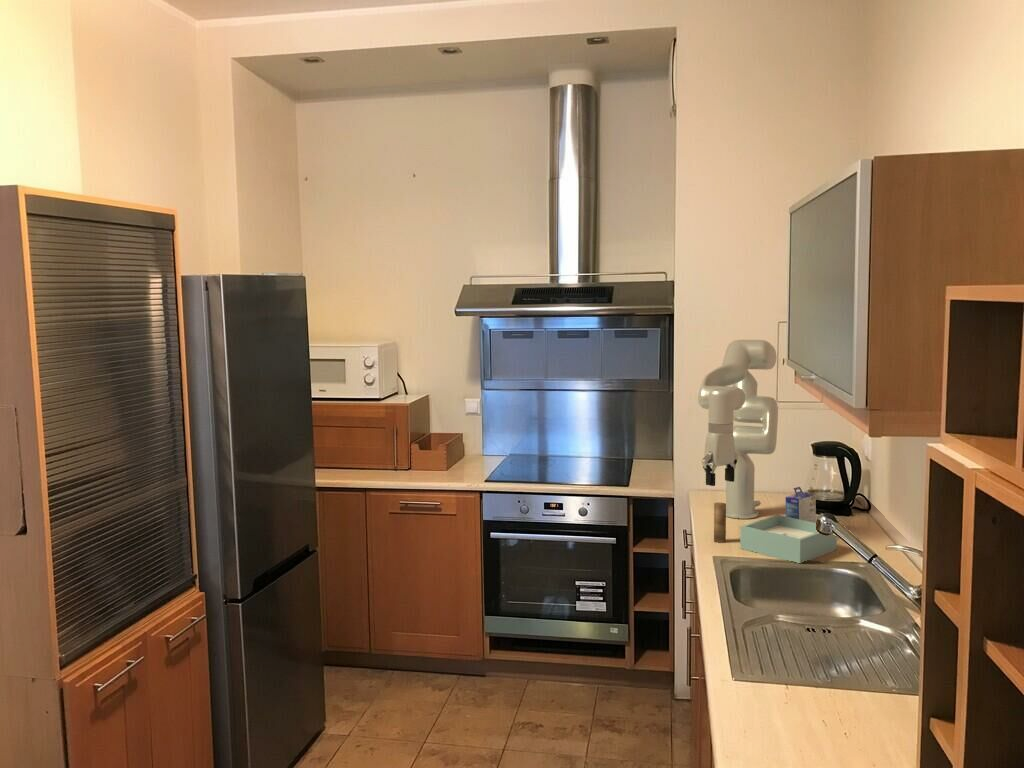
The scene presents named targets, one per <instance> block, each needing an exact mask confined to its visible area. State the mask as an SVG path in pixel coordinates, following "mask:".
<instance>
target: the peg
mask: <svg viewBox="0 0 1024 768" xmlns="http://www.w3.org/2000/svg"><path fill="white" fill-rule="evenodd" d="M726 532H727V517H726V502H715V503H713V542H714V543H717V542H718V543H717V544H724V543H726V541H727V540H726V539H727V538H726V537H727V533H726Z"/></svg>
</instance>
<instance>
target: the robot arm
mask: <svg viewBox="0 0 1024 768" xmlns="http://www.w3.org/2000/svg"><path fill="white" fill-rule="evenodd" d="M776 364H777V352H776V349H775V347H774V346H773V344H771V343H770V342H769V341H767V340H764V339H735V340H732V341H731V342H730V343H729V344H728V345H727V347H726V350H725V353H724V357H723V360H722V363H721V365H720V366H717V368H714V369H713V370H711V371H710V372H708V373H707V374H706V375H705V376H704V377H703V379H702V382H701V384H700V387H699V390H698V397H697V400H698V405H699V406H700V407H701V408H702V409H705V410H708V421H707V422H708V424H707V425H708V430H707V431H708V433H707V434H706V438H705V444H704V457H703V458H702V459H701V464H702V469H703V470H704V473H705V485H706V486H711V487H715V486H716V473H715V472H716V469H717V467H721V466H725V468H724V481H726V482H725V484H726V487H725V489H726V490H725V495H726V496H725V500H726V501H725V503H726V518H730V519H731V518H732V519H738V518H739V520H740V519H741V520H744V519H745V520H748V519H749V520H750V519H755V518H758V517H759V511H758V510H756V507H759V506H761V504H762V503H761V501H760V499H759V500H755V472H756V471H755V464H754V462H753V460H752V459H751V457H750V456H749V455H750V454H753V455H771V454H773V453H774V452H775V451H776V448H777V447H776V446H777V442H778V441H777V439H778V438H777V437H778V423H779V422H778V420H779V419H778V418H779V407H778V402H777V401H776V399H775V398H774V397H772V396H761V395H760V396H758V386H759V385H758V382H757V380H756V378H755V377H754V376H753V374H752V373H751V372H750V371H749V370H764V371H765V370H772V369H773V368H774V367H775V365H776ZM734 422H737V423H743V424H744V423H745V424H759V425H760V424H761V425H763V426H753V425H734Z"/></svg>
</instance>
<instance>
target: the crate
mask: <svg viewBox="0 0 1024 768" xmlns="http://www.w3.org/2000/svg"><path fill="white" fill-rule="evenodd" d="M816 523H817V522H816ZM816 523H814V522H810V521H805V520H800V519H795V518H791V517H786V515H780V514H776V515H774V516H773V515H772V516H769V517H766V518H763V519H759V520H757V521H752V522H751V523H747V524H743V525H740V538H739V539H740V543H739V547H740V548H739V549H740V550H743V549H744V551H747V550H748V552H751V551H753V552H752V553H755V552H757V553H756V554H759V553H761V554H760V555H763V554H765V555H764V556H767V555H769V556H768V557H771V556H773V557H772V558H775V557H776V559H778V558H780V559H779V560H782V559H785V560H784V561H786V560H789V561H788V562H790V561H794V562H797V563H796V564H798V563H801V562H804V561H806V562H808V561H807V560H809V561H811V560H814V559H817V558H819V557H821V555H822V556H824V555H827V554H829V553H828V552H830V553H832V552H834V550H835V551H836V550H837V542H838V541H837V536H838V535H837V536H835V535H833V534H831V535H828V536H825V535H822V534H820V533H819V532H817V530H816ZM831 551H832V552H831ZM826 553H827V554H826ZM823 554H824V555H823ZM818 556H819V557H818ZM816 557H817V558H816ZM813 558H814V559H813ZM794 562H793V563H794ZM804 563H805V562H804ZM801 564H802V563H801Z"/></svg>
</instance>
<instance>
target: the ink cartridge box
mask: <svg viewBox="0 0 1024 768" xmlns="http://www.w3.org/2000/svg"><path fill="white" fill-rule="evenodd" d="M793 490H794V494H791V495H787V496H785V516H786V517H791V518H795V519H800V520H805V521H810V522H814V523H817V521H816V520H817V517H816V514H817V508H816V504H817V503H816V501H817V500H816V499H817V498H816V497H817V495H816V494H815V493H810V492H805V491H803V490H802V488H801V486H797V487H793ZM798 490H799V491H798Z"/></svg>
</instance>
